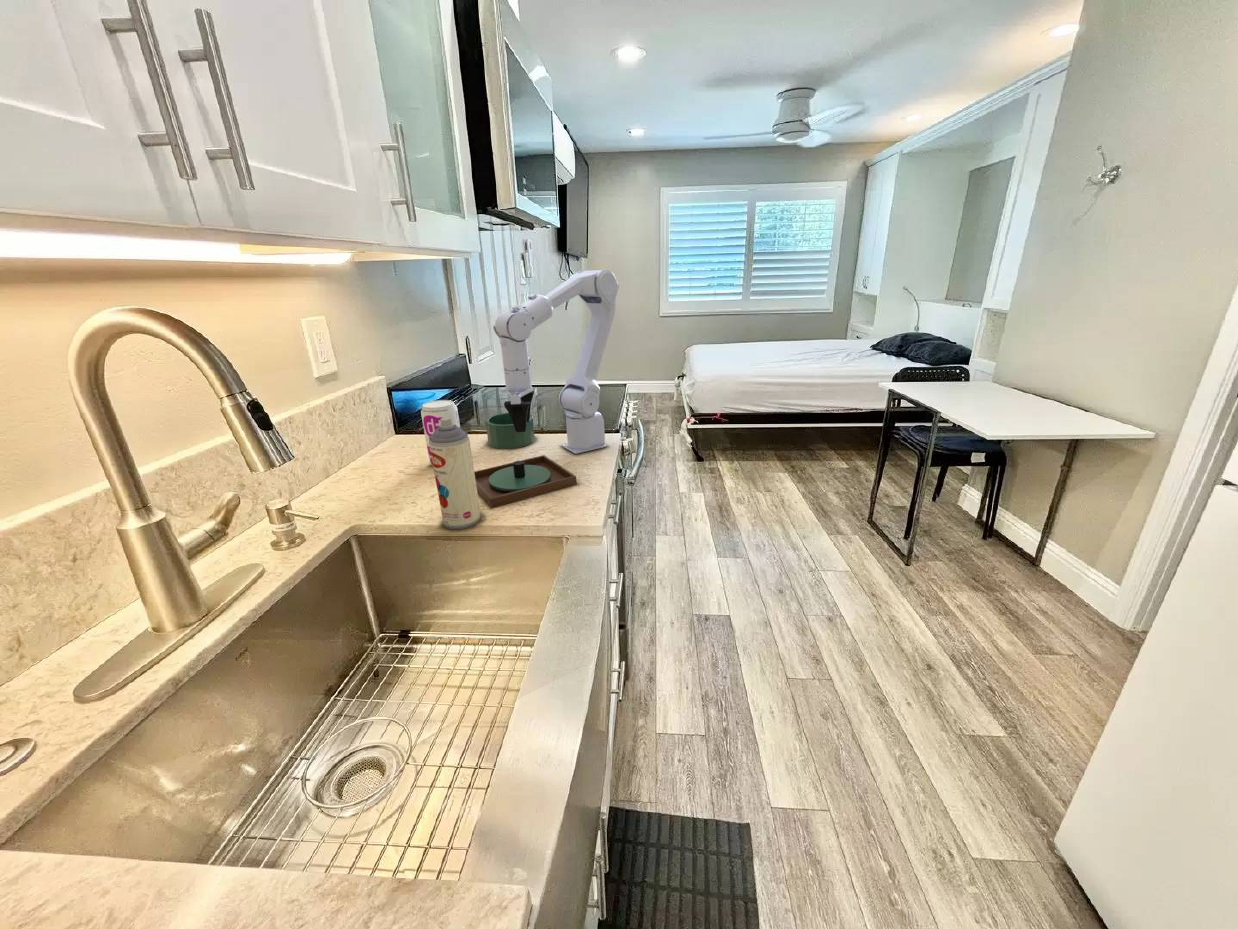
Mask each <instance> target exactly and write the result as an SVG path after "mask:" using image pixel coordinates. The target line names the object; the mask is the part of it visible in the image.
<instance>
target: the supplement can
mask: <svg viewBox="0 0 1238 929" xmlns="http://www.w3.org/2000/svg"><path fill="white" fill-rule="evenodd" d="M458 411H459V410H458V406H457V405H456V403H454V401H453V400H451V399H450V400H449V399H439V400H438V399H437V400H432V401H428V402H425V403H423V404H422V408H421V410H420V415H421V421H422V427H423V431H424V432H423V433H424V437H425V443H426V449H427V453H428V460H429V464H430V465H431V466H433V463H432V458H431V452H430V447H429V441H430V440H429V437H430V436H431V435H432V434H433V433H434V431H435V430H436V429H438V427H439V426H440V425H441V419H442V418H446V417H449V418H451V421H452V423H454V424H455V425H456V426H457V427H460V428H461V424H460V417H459V412H458Z"/></svg>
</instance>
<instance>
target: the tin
mask: <svg viewBox="0 0 1238 929" xmlns="http://www.w3.org/2000/svg"><path fill="white" fill-rule="evenodd" d="M485 428H486V435H487V442H488V446H490V447H491V448H494V449H501V450H513V449H520V448H523V447H526V446H529V445H532V444H533V443H534V442H535V440H536V439H535V437H536V436H535V427H534V417H533V415H532V414H530V419H529V422H527V424H526V431H525V432H516V430H515V428H514V425H513V422H512V419H511V416H510V414H509V412H503V413H497V414H493V415H490V416H489V417H487V418H486V419H485Z"/></svg>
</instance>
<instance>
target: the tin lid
mask: <svg viewBox="0 0 1238 929" xmlns="http://www.w3.org/2000/svg"><path fill="white" fill-rule="evenodd" d="M512 463H513V466H511V467H507V468H503V469H501V470H498V471H496V472H495V473H493V474H492V475H491V476H490V477H489V484H490V485H491V486H492V487H493V488H495V489H498V490H502V491H519V490H522V489H526V488H530V487H534V486H537V485H541V484H545V483H547V482H548V481H549V480H550V477H551V473H550V471H549V470H548V469H546V468H544V467H541V466H536V465H524V461H521V460H516V461H512Z"/></svg>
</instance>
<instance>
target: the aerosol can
mask: <svg viewBox="0 0 1238 929" xmlns="http://www.w3.org/2000/svg"><path fill="white" fill-rule="evenodd" d="M429 440H430V441H429V447H430V452H431V458H432V463H433V465H432V468H433V474H434V480H435V485H436V490H437V496H438V502H439V507H440V512H441V518H442V521H443V522H442V524H443V526H444V527H445V528H447V529H449V530H465V529H469V528H471V527H474V526H476V525H477V524H479V522H480V521H481V519H482V515H481V507H480V501H479V493H478V492H477V487H476V480H475V473H474V471H475V467H474V461H473V455H472V448H471V439H470V437H469V433H468V431H466V430H463V429H462V428H461V426H460V427H457V426H456V425H455V424H454V423H452V421H451V418H449V417H446V418H442V419H441V425H440V426H439V427H438V429H436V430H435V431H434V433H433V434H432V435H431V436H430V437H429Z"/></svg>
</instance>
